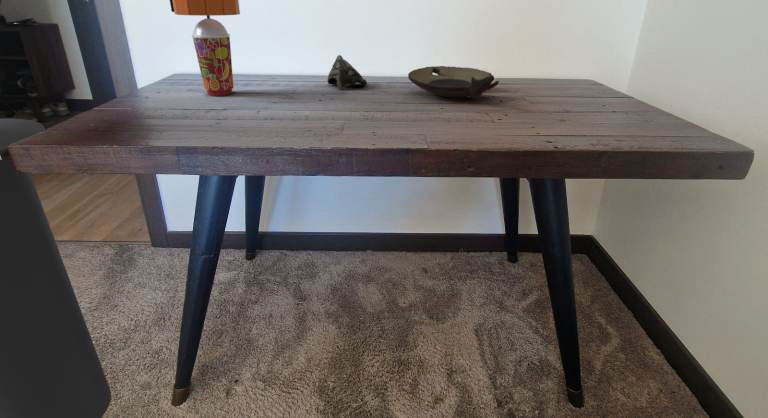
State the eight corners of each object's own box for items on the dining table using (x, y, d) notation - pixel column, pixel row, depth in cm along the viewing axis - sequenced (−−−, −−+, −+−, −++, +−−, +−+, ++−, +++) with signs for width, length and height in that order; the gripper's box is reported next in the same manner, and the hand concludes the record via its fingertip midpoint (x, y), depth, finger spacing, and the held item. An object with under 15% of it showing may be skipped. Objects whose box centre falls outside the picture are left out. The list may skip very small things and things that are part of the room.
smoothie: (195, 93, 108) (180, 5, 100) (225, 89, 114) (213, 5, 105) (214, 98, 104) (199, 6, 95) (244, 93, 109) (232, 5, 101)
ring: (165, 15, 94) (161, -8, 92) (187, 12, 107) (184, -8, 105) (230, 15, 95) (227, -7, 93) (245, 13, 108) (242, -7, 106)
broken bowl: (487, 86, 122) (490, 57, 119) (509, 112, 96) (514, 76, 92) (407, 84, 123) (408, 55, 120) (407, 109, 97) (408, 73, 93)
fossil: (376, 85, 118) (362, 51, 112) (351, 104, 116) (335, 71, 110) (355, 77, 126) (340, 46, 120) (331, 96, 124) (315, 65, 117)
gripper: (199, -109, 94) (217, 11, 104) (130, -111, 93) (154, 10, 103) (187, -117, 87) (207, 12, 97) (112, -119, 86) (140, 12, 97)
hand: (180, 11), depth 100 cm, fingers closed on ring
